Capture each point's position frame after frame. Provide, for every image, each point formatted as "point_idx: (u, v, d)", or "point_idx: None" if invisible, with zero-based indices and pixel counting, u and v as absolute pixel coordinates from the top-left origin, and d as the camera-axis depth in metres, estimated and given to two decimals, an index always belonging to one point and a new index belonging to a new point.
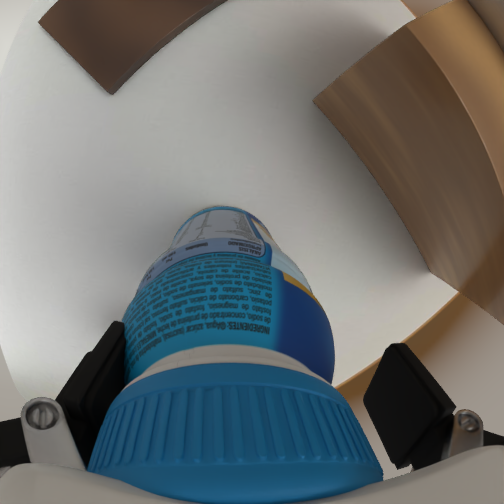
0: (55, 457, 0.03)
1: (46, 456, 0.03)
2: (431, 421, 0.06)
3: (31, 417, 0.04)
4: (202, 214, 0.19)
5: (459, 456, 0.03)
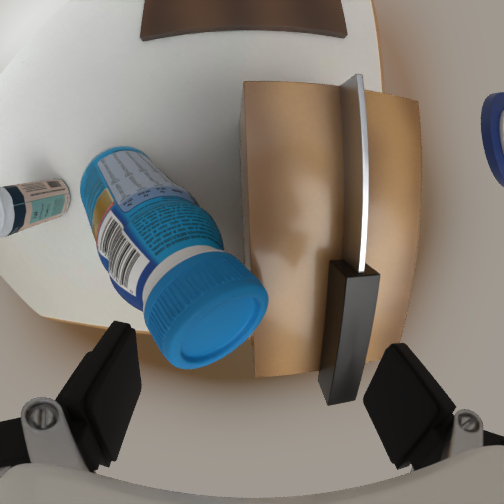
0: (55, 457, 0.03)
1: (46, 456, 0.03)
2: (431, 421, 0.06)
3: (31, 417, 0.04)
4: (132, 152, 0.22)
5: (459, 456, 0.03)
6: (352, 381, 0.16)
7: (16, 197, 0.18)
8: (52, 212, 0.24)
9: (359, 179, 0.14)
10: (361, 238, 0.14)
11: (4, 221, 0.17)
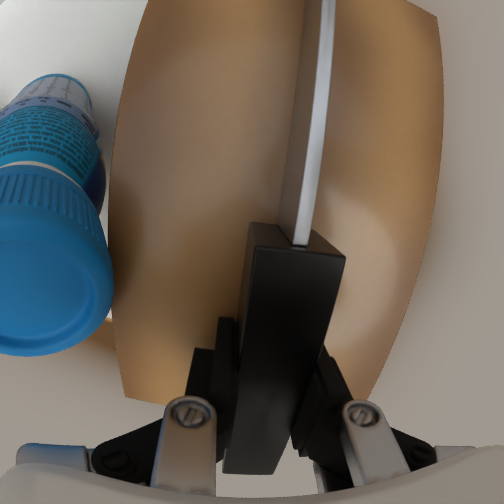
0: (187, 456, 0.04)
1: (177, 452, 0.04)
2: (318, 406, 0.07)
3: (177, 412, 0.05)
4: (64, 78, 0.14)
5: (459, 456, 0.03)
6: (266, 452, 0.08)
7: None
8: None
9: (315, 50, 0.05)
10: (307, 163, 0.06)
11: None
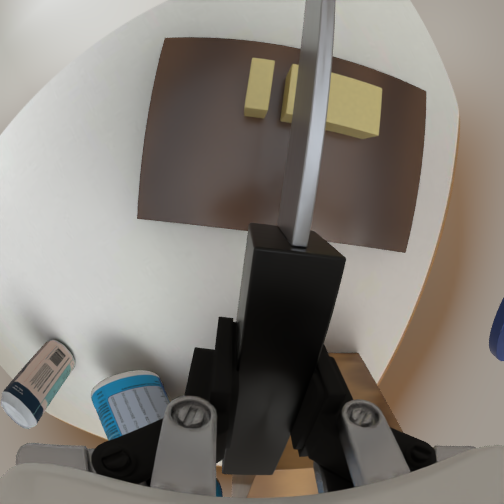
0: (187, 456, 0.04)
1: (177, 452, 0.04)
2: (318, 406, 0.07)
3: (177, 412, 0.05)
4: (141, 389, 0.22)
5: (459, 456, 0.03)
6: (266, 452, 0.08)
7: (33, 405, 0.17)
8: (61, 384, 0.23)
9: (314, 50, 0.05)
10: (307, 164, 0.06)
11: (29, 426, 0.16)
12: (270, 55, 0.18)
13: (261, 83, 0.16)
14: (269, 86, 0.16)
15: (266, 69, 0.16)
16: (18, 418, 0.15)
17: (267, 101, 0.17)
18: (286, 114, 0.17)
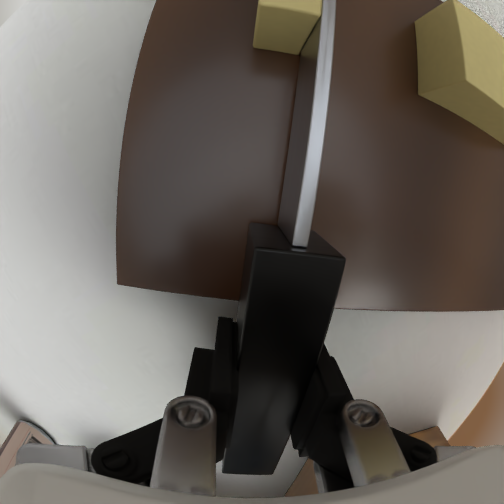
0: (187, 456, 0.04)
1: (177, 452, 0.04)
2: (318, 406, 0.07)
3: (177, 412, 0.05)
4: None
5: (459, 456, 0.03)
6: (266, 452, 0.08)
7: None
8: None
9: (315, 50, 0.05)
10: (307, 164, 0.06)
11: None
12: None
13: None
14: None
15: None
16: None
17: None
18: (462, 82, 0.05)
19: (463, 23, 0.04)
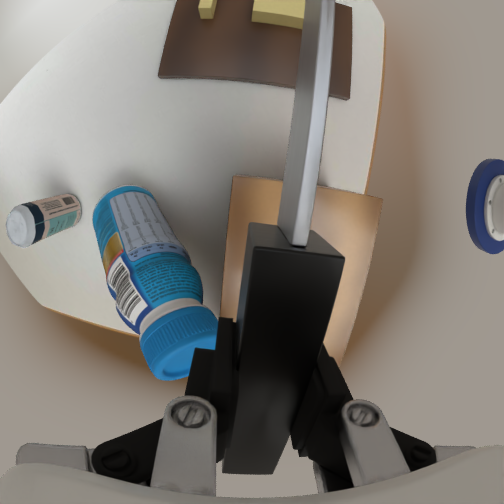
0: (187, 456, 0.04)
1: (177, 452, 0.04)
2: (318, 406, 0.07)
3: (177, 412, 0.05)
4: (140, 193, 0.28)
5: (459, 456, 0.03)
6: (265, 452, 0.08)
7: (37, 217, 0.23)
8: (65, 226, 0.29)
9: (314, 50, 0.05)
10: (306, 164, 0.06)
11: (26, 237, 0.21)
12: None
13: None
14: None
15: None
16: (18, 232, 0.21)
17: (210, 4, 0.22)
18: (253, 11, 0.23)
19: None
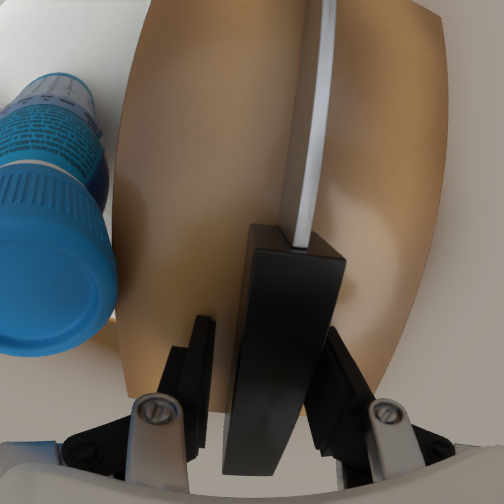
0: (157, 453, 0.04)
1: (147, 450, 0.04)
2: (344, 406, 0.07)
3: (144, 409, 0.05)
4: (67, 77, 0.14)
5: (459, 456, 0.03)
6: (266, 453, 0.08)
7: None
8: None
9: (315, 50, 0.05)
10: (307, 165, 0.06)
11: None
12: None
13: None
14: None
15: None
16: None
17: None
18: None
19: None
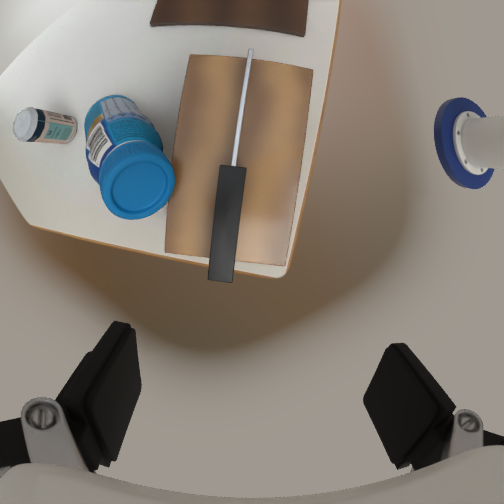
0: (55, 457, 0.03)
1: (46, 456, 0.03)
2: (431, 421, 0.06)
3: (31, 417, 0.04)
4: (125, 99, 0.29)
5: (459, 456, 0.03)
6: (227, 258, 0.24)
7: (41, 115, 0.24)
8: (61, 136, 0.31)
9: None
10: (235, 143, 0.22)
11: (28, 128, 0.23)
12: None
13: None
14: None
15: None
16: (22, 126, 0.23)
17: None
18: None
19: None
